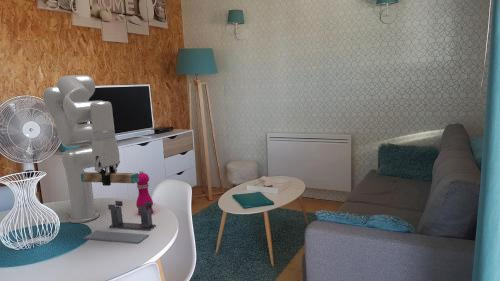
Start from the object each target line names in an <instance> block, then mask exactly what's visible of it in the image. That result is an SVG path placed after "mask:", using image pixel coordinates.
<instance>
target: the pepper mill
mask: <svg viewBox="0 0 500 281" xmlns="http://www.w3.org/2000/svg"><path fill="white" fill-rule="evenodd" d="M138 176H139V181H138V182H136V183H135V184H136V188H137V190H138V195H137V199H136V208H137V209H138V206H145V202H152V206H153V205H154V200H153V198H152V197H151V195H150V193H149V181H150V176H149V175H148V174H147V173H145V172H144V170H143V169H140V170H139V172H138ZM146 208H147V207H146ZM153 209H154V208H153V207H152V208H151V213H152V214H154V210H153ZM137 211H138V210H137ZM137 214H138V215H139V216H141V214H140V211H138V212H137Z"/></svg>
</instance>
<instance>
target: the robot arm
mask: <svg viewBox="0 0 500 281" xmlns="http://www.w3.org/2000/svg"><path fill="white" fill-rule="evenodd" d="M95 91H96V84H95V81H94V79H93V78H92V77H91V76H90V75H88V74H80V75H76V74H75V75H74V74H73V75H69V74H68V75H64V76H61V77H60V78H59V79H58V80H57V82H56V85H53V86H50V87H47V88H45V89H44V90H43V93H42V99H43V100H42V101H43V103H44V106H45V108H46V110H47V112H48V114H49V115H50V117H51V118H52V120H53V123H54V126H55V129H56V131H57V135H58V139H59V141H60V144H61V145H62V146H63V147H64V148H69V149H67V150H65V151H64V152H63V153H62V155H61V162H62V166H63V169H64V172H65V176H66V181H67V187H68V188H67V189H68V195H69V202H70V207H68V208H67V210H66V211H65V214H69V217H68V222H70V223H74V224H79V223H80V224H81V223H87V222H90V221H94V220H96V219H98V218H99V217H100V212H99V211H97V210H96V207H95V198H94V192H93V184H92V183H93V182H82V181H81V174H83V173H85V172H86V171H85V170H86V169H89V168H94V171H95V172H99V173H100V175H101V176H102V182H101V183H102V186H105V187H109V186H111V185H112V183H111V182H110V175H108V173H118V167H119V165H120V163H121V159H120V152H119V145H118V142H117V138H116V133H115V132H116V130H115V124H114V116H113V115H114V114H113V106H112V103H111V101H106V100H105V101H104V100H90V98H91V97H92V96H93V95H94V93H95ZM88 122H91V123H88ZM81 123H82V124H81Z"/></svg>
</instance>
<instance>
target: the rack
mask: <svg viewBox="0 0 500 281" xmlns="http://www.w3.org/2000/svg"><path fill="white" fill-rule="evenodd" d="M114 202H115V204H109V203H108V205H107V210H109V211H110V216H111V224H110V225H109V226H108V228H109V229H120V230H121V229H122V230H123V229H124V230H134V231H146V230H147V231H148V232H149V231H152V230H153V229H155V228H156V225H157V224H153V219H152V218H153V216H152V214H151V208H152V209H153V205H152V202H145V206H138V208H137V211H140V214H141V215H140V221H141V223H136V222H124V218H123V212H122V207H123V206H124V204H123V200H115V201H114ZM146 207H147V208H146ZM154 227H155V228H154ZM151 229H152V230H151Z"/></svg>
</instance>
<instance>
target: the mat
mask: <svg viewBox="0 0 500 281" xmlns="http://www.w3.org/2000/svg"><path fill="white" fill-rule="evenodd" d="M149 236H150V235H149V234H146V233H134V232H132V233H130V232H120V231H119V232H117V231H108V230H107V231H106V230H95V231H93V232H91V233H89V234H88V235H86V236H84V237H83V240H87V241H88V240H89V241H90V240H91V241H103V242H113V243H114V242H115V243H124V244H137V245H138V244H140V243H141V242H143V241H144V240H145V239H147V238H148V237H149Z"/></svg>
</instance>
